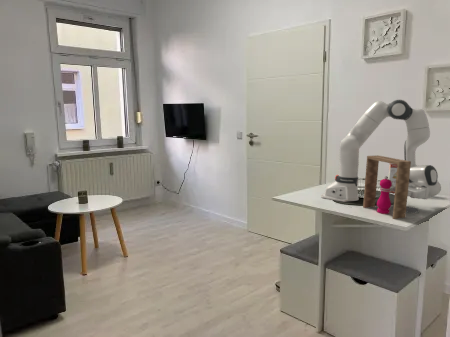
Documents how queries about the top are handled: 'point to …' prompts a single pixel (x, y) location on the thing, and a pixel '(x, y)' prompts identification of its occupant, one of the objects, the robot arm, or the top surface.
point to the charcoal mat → (411, 209)
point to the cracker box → (393, 174)
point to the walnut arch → (400, 187)
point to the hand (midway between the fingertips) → (395, 191)
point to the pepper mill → (384, 196)
